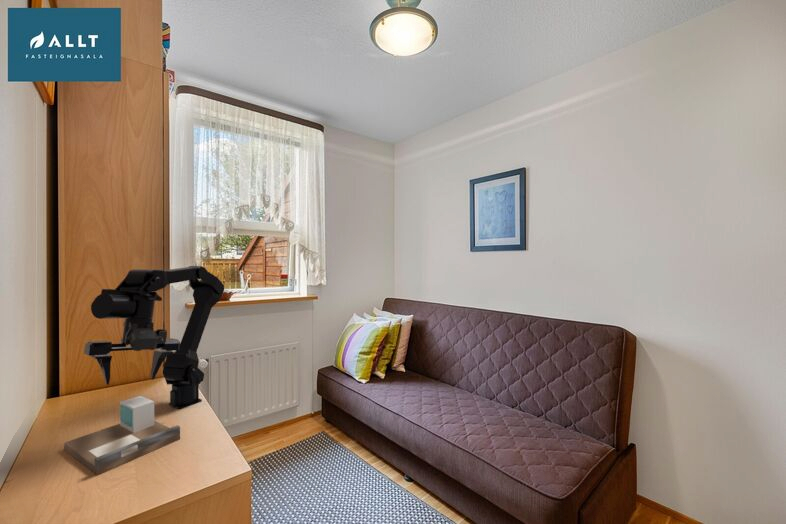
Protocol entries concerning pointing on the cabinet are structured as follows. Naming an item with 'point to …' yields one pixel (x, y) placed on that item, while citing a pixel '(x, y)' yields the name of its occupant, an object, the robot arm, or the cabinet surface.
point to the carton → (137, 413)
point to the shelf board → (119, 445)
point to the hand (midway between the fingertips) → (130, 381)
